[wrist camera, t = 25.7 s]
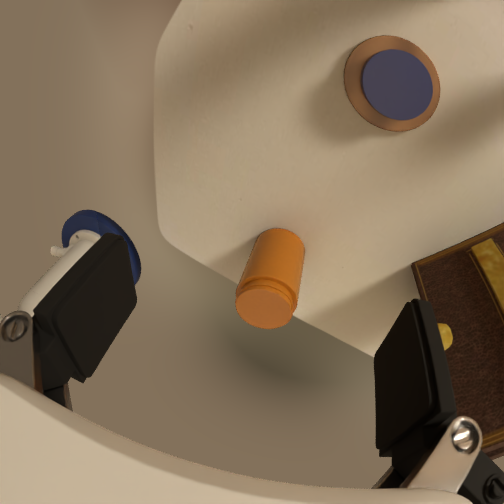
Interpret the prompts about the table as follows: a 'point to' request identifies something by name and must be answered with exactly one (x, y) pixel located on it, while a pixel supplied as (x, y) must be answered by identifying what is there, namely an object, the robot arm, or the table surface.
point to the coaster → (355, 90)
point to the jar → (271, 280)
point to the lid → (396, 84)
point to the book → (471, 326)
